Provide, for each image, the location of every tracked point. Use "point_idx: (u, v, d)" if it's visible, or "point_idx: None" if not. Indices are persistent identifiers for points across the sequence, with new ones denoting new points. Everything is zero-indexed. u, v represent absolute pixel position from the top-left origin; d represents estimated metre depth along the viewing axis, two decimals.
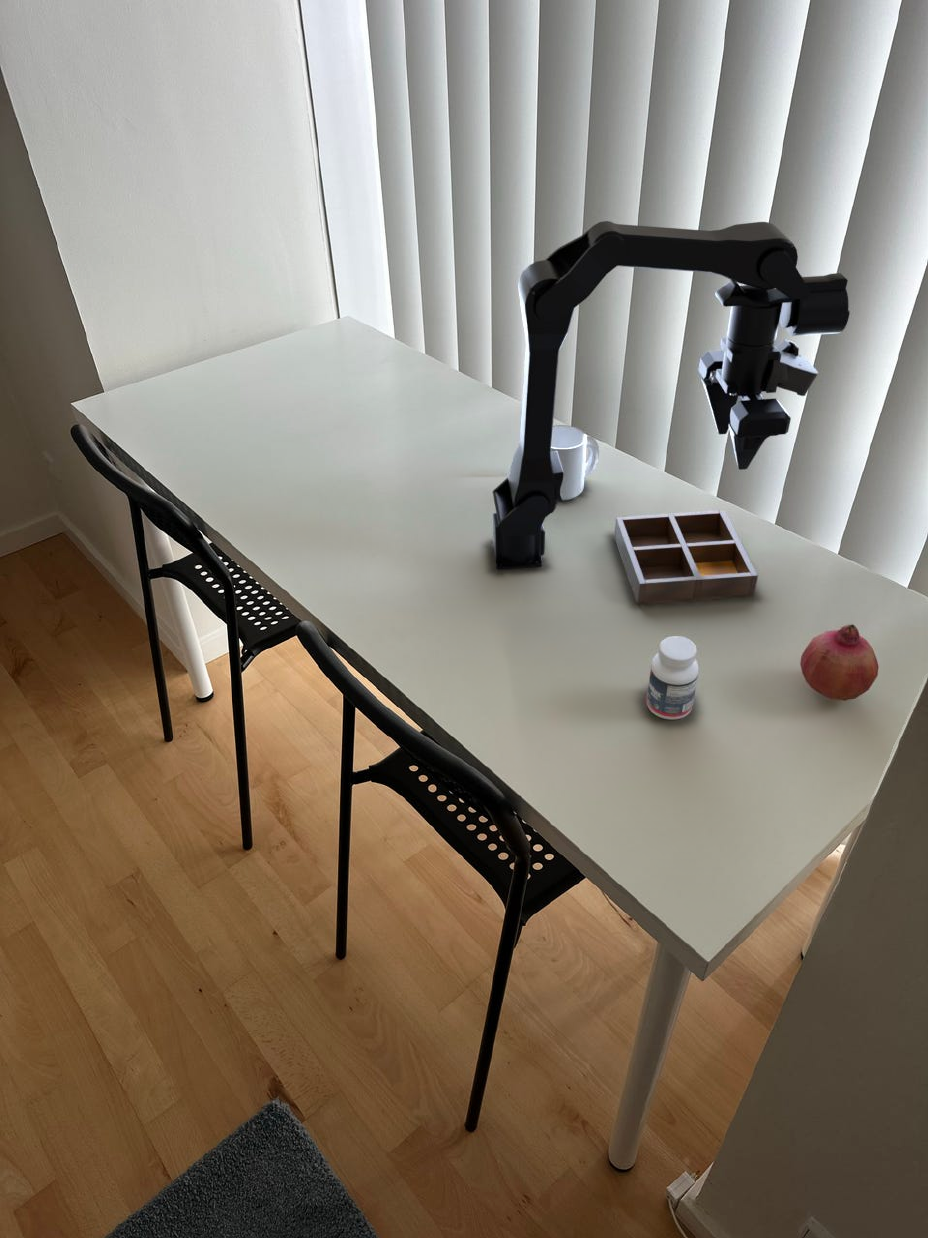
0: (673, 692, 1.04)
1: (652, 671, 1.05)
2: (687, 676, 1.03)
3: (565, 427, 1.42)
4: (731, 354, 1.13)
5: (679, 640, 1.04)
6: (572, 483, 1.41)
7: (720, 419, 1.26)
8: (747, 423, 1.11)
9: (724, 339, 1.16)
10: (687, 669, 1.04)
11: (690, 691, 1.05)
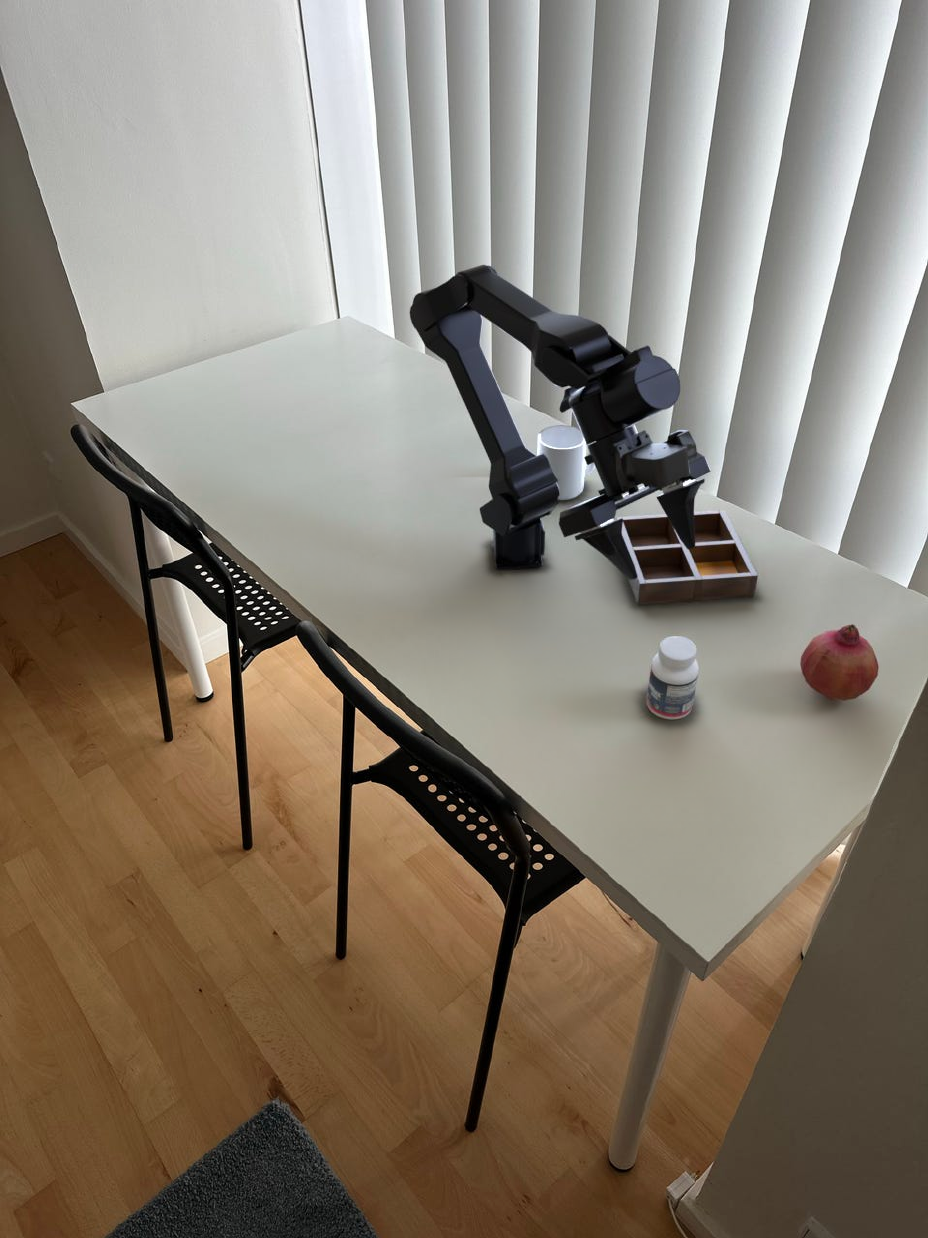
0: (673, 692, 1.04)
1: (652, 671, 1.05)
2: (687, 676, 1.03)
3: (565, 427, 1.42)
4: None
5: (679, 640, 1.04)
6: (572, 483, 1.41)
7: (680, 532, 1.10)
8: (559, 521, 1.04)
9: None
10: (687, 669, 1.04)
11: (690, 691, 1.05)
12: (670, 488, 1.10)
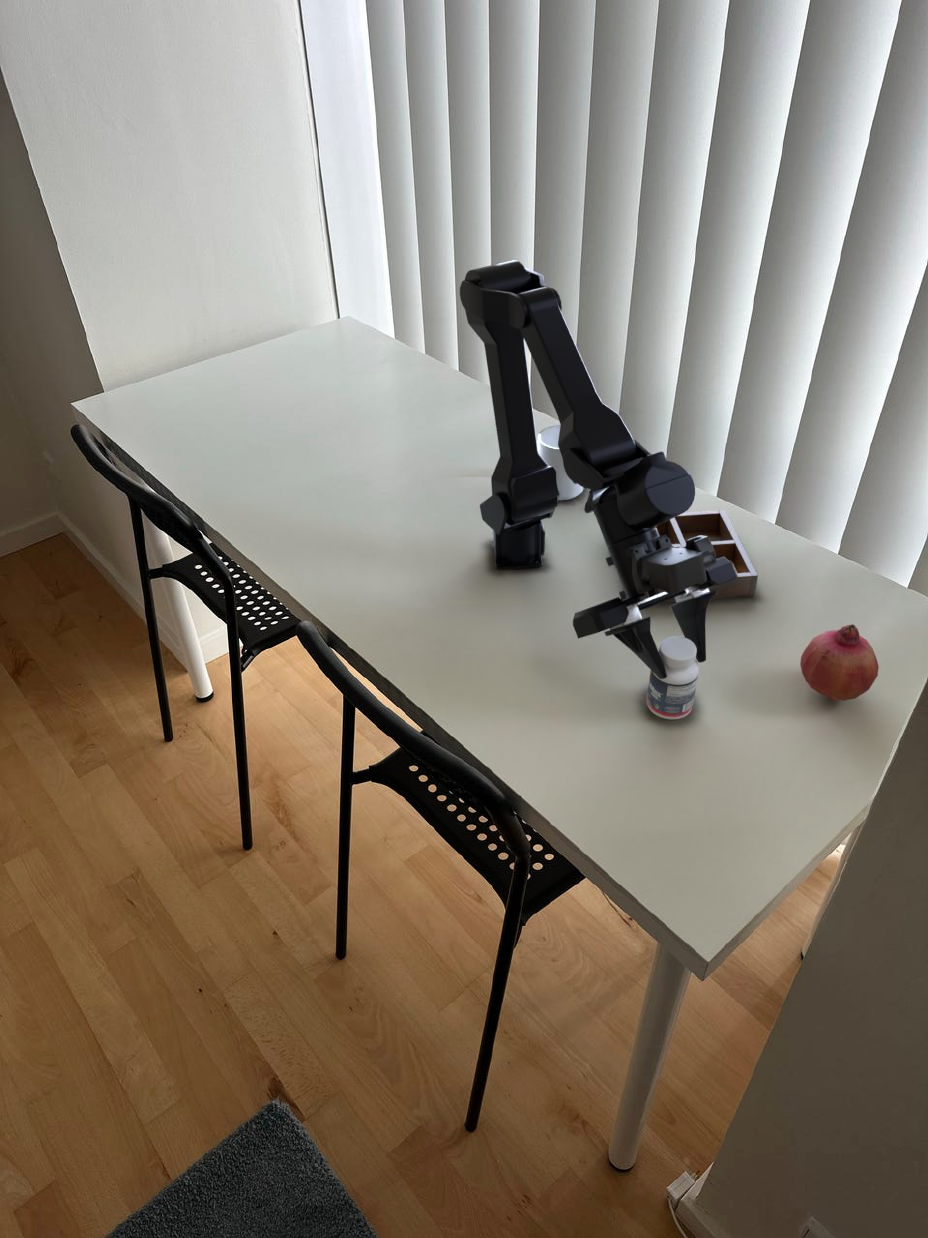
0: (673, 692, 1.04)
1: (652, 671, 1.05)
2: (687, 676, 1.03)
3: None
4: None
5: (679, 640, 1.04)
6: (572, 483, 1.41)
7: None
8: (573, 622, 1.03)
9: None
10: (687, 669, 1.04)
11: (690, 691, 1.05)
12: (682, 598, 1.06)
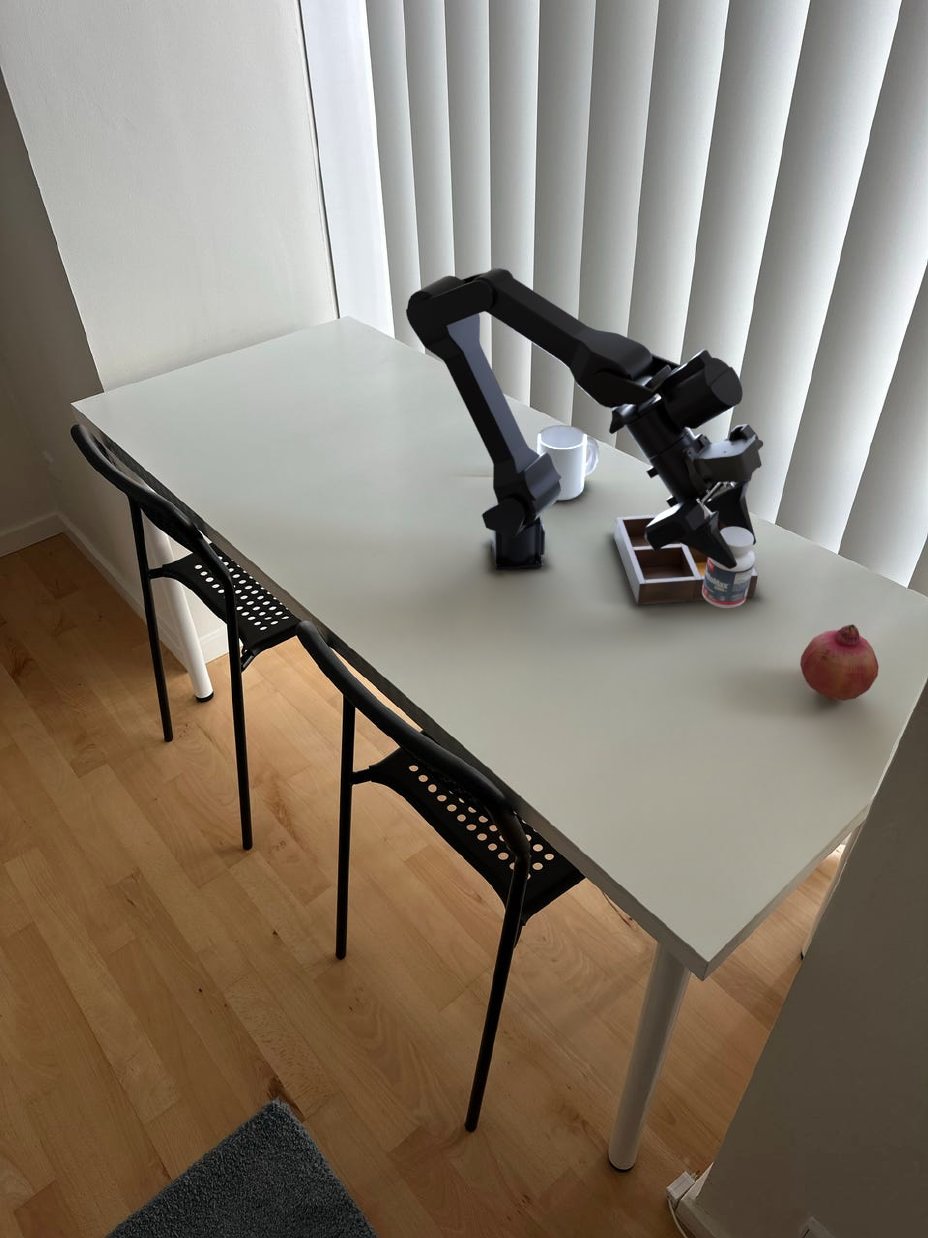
0: (740, 579, 1.10)
1: (716, 565, 1.10)
2: (750, 560, 1.09)
3: (565, 427, 1.42)
4: None
5: (732, 530, 1.10)
6: (572, 483, 1.41)
7: None
8: (647, 536, 1.05)
9: None
10: (748, 554, 1.10)
11: (751, 574, 1.11)
12: (718, 492, 1.12)
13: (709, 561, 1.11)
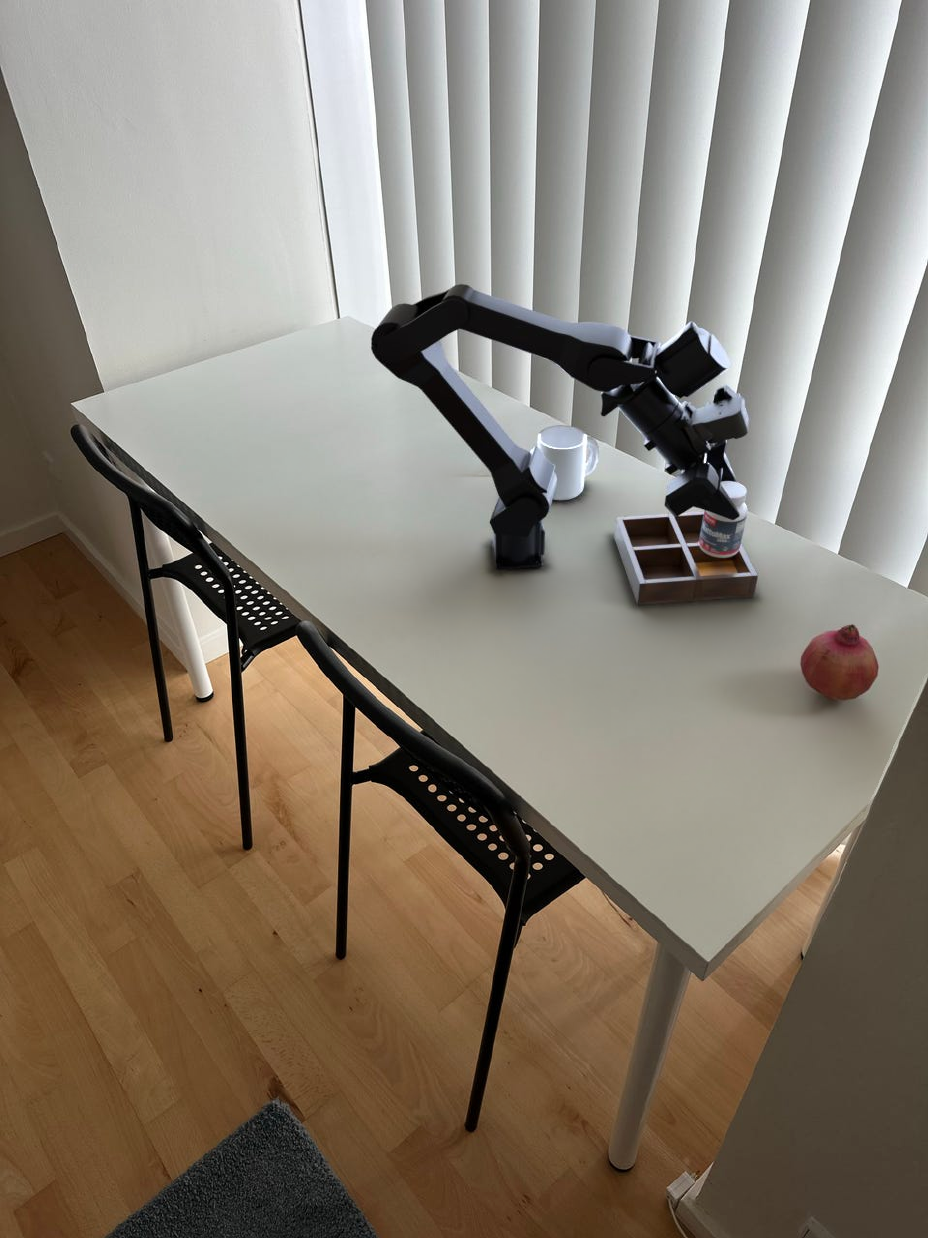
0: (740, 527, 1.19)
1: (718, 519, 1.18)
2: (745, 508, 1.19)
3: (565, 427, 1.42)
4: None
5: (723, 484, 1.19)
6: (572, 483, 1.41)
7: None
8: (669, 504, 1.11)
9: None
10: None
11: None
12: None
13: (709, 517, 1.19)
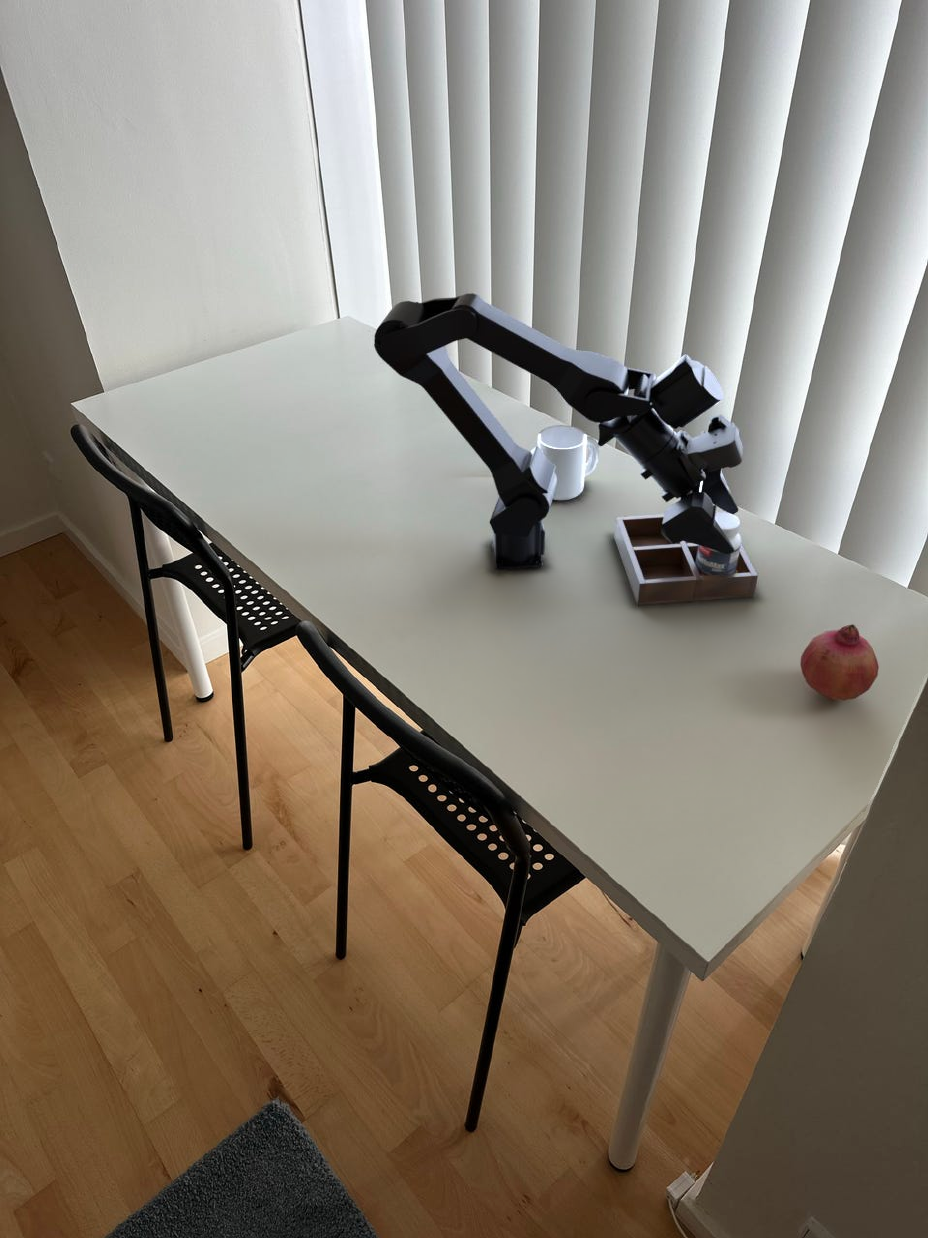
0: (734, 557, 1.22)
1: (712, 550, 1.21)
2: (739, 538, 1.22)
3: (565, 427, 1.42)
4: None
5: (717, 515, 1.22)
6: (572, 483, 1.41)
7: (721, 503, 1.24)
8: (665, 532, 1.13)
9: None
10: None
11: None
12: None
13: (703, 548, 1.22)
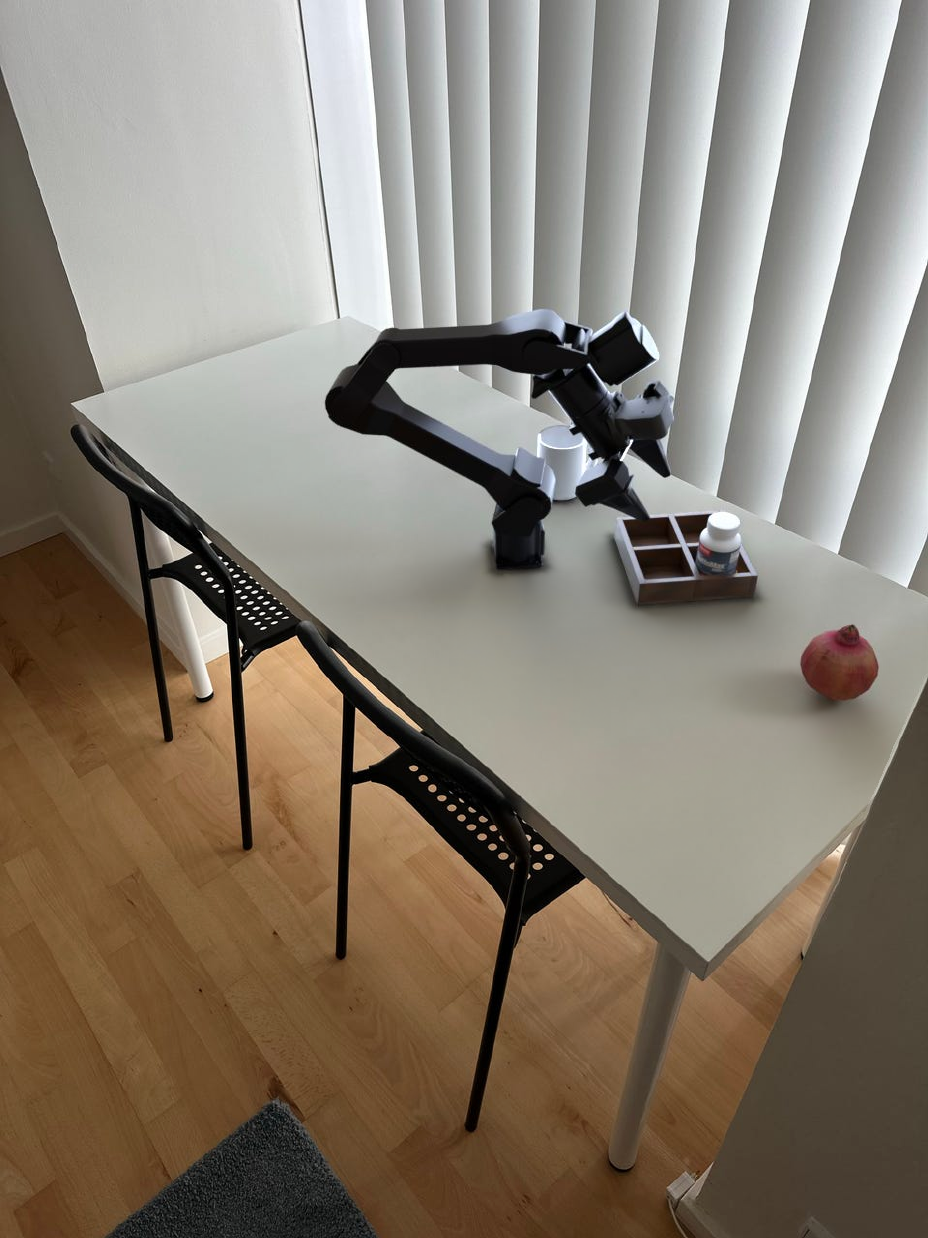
0: (734, 557, 1.22)
1: (712, 550, 1.21)
2: (739, 538, 1.22)
3: (565, 427, 1.42)
4: None
5: (717, 515, 1.22)
6: (572, 483, 1.41)
7: (654, 465, 1.24)
8: (578, 495, 1.14)
9: None
10: None
11: None
12: None
13: (703, 548, 1.22)
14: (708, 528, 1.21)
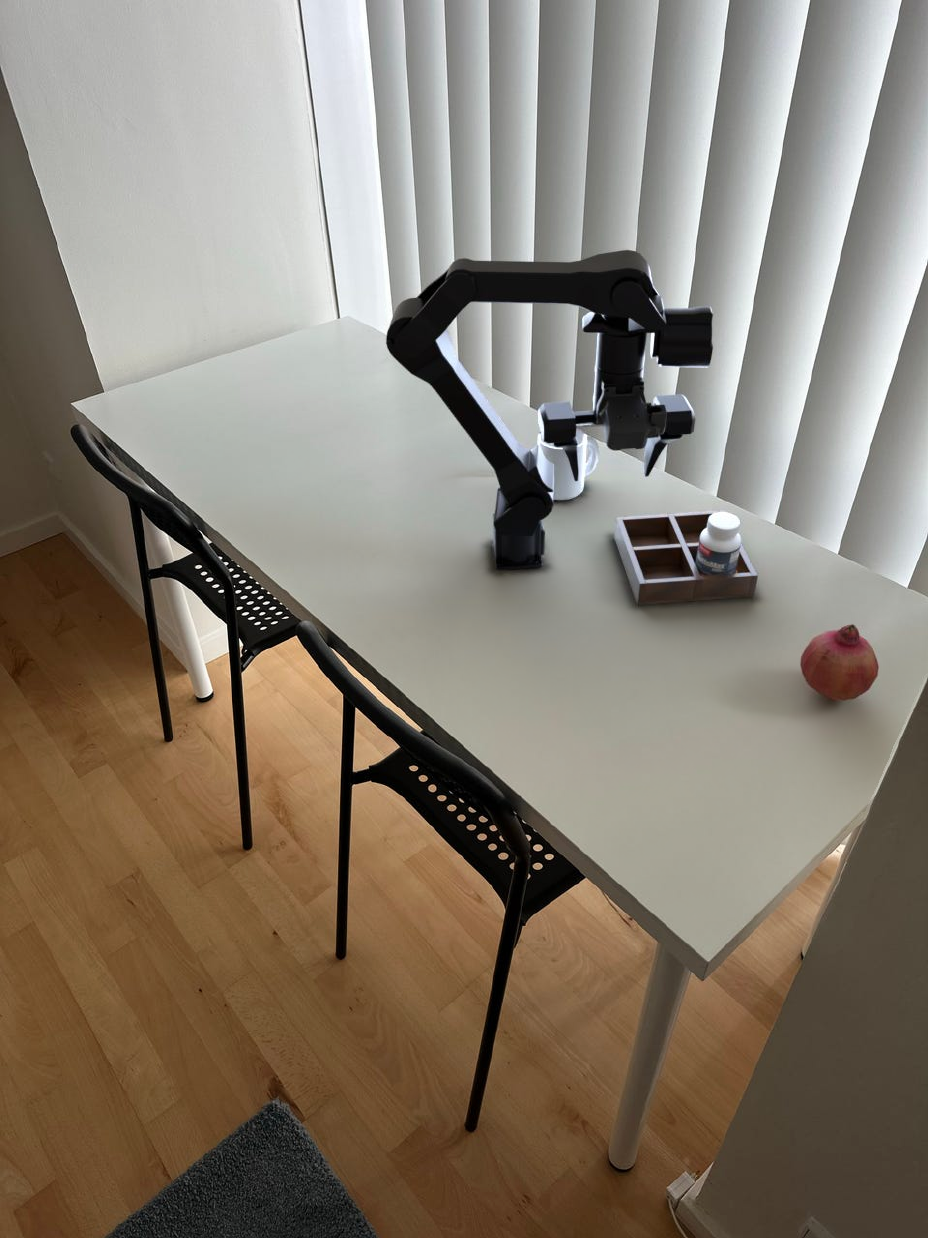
0: (734, 557, 1.22)
1: (712, 550, 1.21)
2: (739, 538, 1.22)
3: None
4: None
5: (717, 515, 1.22)
6: (572, 483, 1.41)
7: (645, 457, 1.22)
8: None
9: None
10: None
11: None
12: None
13: (703, 548, 1.22)
14: (708, 528, 1.21)
